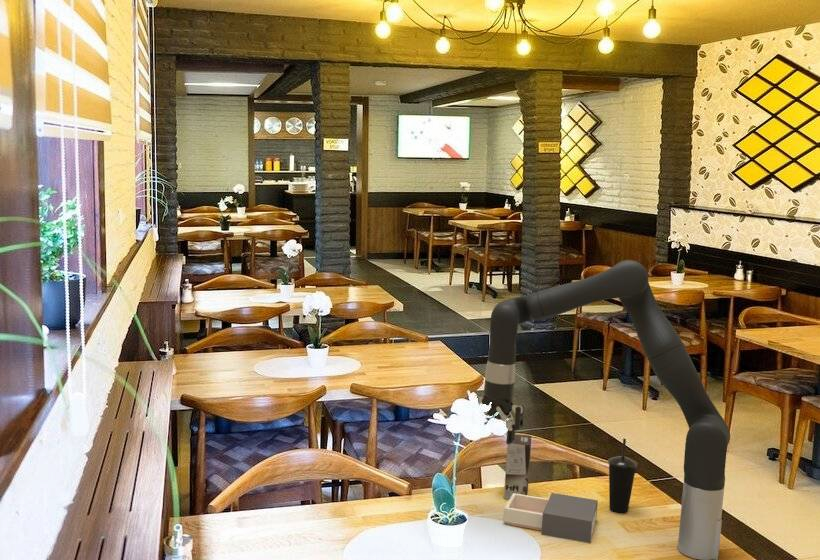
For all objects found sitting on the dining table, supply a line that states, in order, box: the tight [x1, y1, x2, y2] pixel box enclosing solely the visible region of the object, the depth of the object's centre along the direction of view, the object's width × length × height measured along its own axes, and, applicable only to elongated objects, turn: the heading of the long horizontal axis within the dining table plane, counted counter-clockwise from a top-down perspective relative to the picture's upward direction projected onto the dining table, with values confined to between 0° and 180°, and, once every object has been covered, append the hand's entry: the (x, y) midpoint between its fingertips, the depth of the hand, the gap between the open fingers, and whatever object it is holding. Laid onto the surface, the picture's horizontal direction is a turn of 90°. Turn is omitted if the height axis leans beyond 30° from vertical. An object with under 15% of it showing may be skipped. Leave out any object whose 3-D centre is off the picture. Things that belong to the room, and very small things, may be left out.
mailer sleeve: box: [540, 492, 599, 544], centre depth 208 cm, size 12×14×6 cm
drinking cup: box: [607, 438, 638, 515], centre depth 220 cm, size 8×8×20 cm
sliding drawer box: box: [503, 493, 598, 538], centre depth 210 cm, size 22×11×4 cm, turn 71°
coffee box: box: [503, 434, 532, 500], centre depth 228 cm, size 9×6×16 cm
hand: (494, 439), depth 211 cm, fingers open, 8 cm apart
